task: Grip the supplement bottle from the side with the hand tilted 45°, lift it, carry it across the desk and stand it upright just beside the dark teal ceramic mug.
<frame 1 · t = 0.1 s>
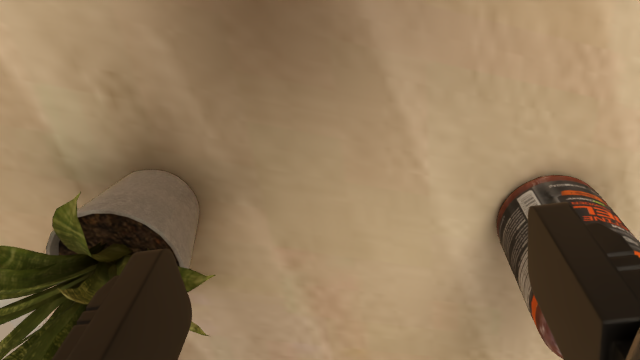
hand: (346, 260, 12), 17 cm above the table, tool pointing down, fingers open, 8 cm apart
house plant: (136, 206, 32), on the table
supplement bottle: (544, 214, 31), on the table
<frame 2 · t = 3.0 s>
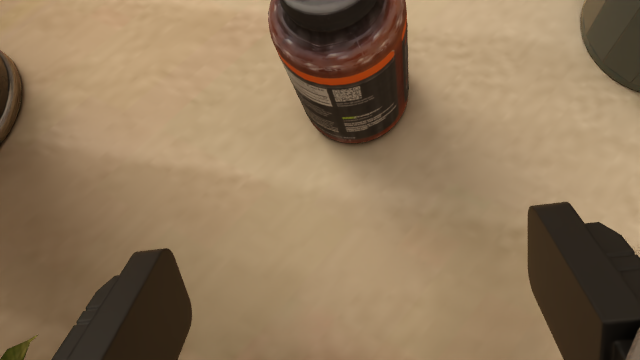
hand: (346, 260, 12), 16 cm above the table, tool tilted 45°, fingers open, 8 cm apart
supplement bottle: (356, 100, 30), on the table
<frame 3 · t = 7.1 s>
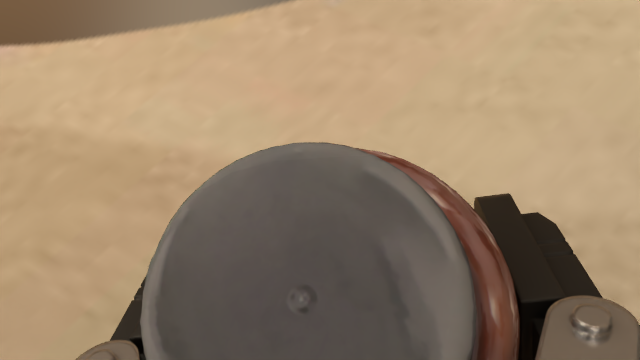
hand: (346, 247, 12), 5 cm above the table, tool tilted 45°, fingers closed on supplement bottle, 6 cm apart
supplement bottle: (372, 330, 17), on the table, touching gripper
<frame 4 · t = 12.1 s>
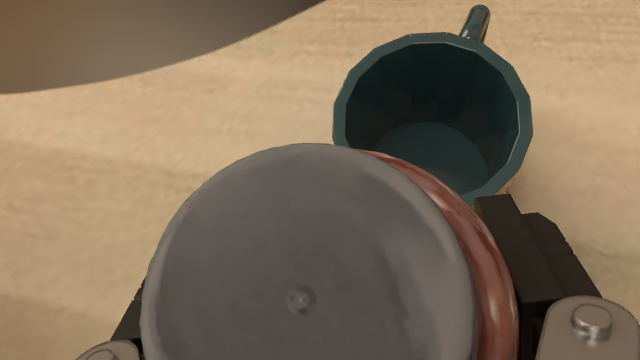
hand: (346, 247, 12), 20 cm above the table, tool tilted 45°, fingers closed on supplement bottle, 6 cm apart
supplement bottle: (372, 330, 17), point 15 cm above the table, touching gripper
mug: (423, 181, 33), on the table
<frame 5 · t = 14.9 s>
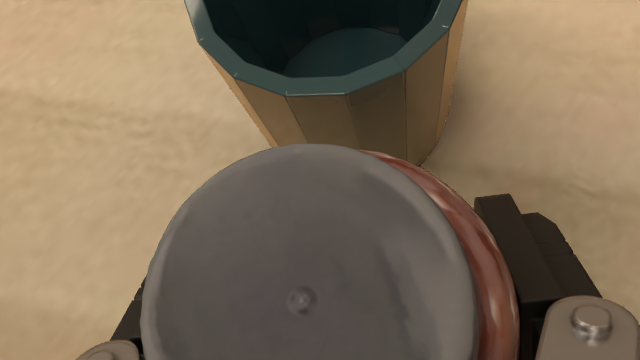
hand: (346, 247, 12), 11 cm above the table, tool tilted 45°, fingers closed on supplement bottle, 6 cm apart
supplement bottle: (372, 330, 17), point 6 cm above the table, touching gripper
mug: (354, 103, 26), on the table
when the fingers open (5 cm above the table, at t = 17.1 s): supplement bottle stays where it is, on the table.
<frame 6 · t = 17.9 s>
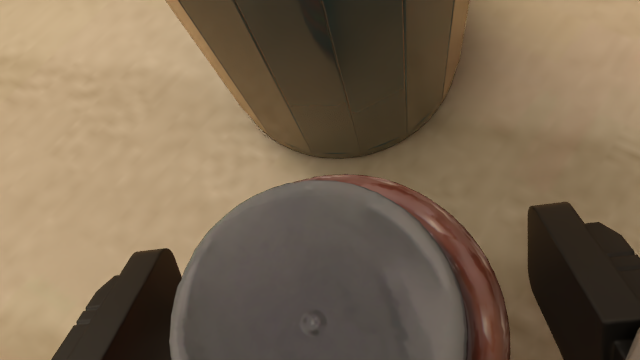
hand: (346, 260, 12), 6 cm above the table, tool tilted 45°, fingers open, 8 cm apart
supplement bottle: (375, 336, 18), on the table
mug: (342, 53, 21), on the table
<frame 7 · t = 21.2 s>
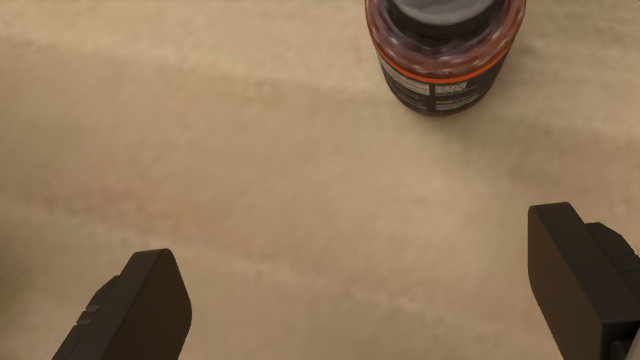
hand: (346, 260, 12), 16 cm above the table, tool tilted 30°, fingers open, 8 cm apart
supplement bottle: (439, 63, 28), on the table
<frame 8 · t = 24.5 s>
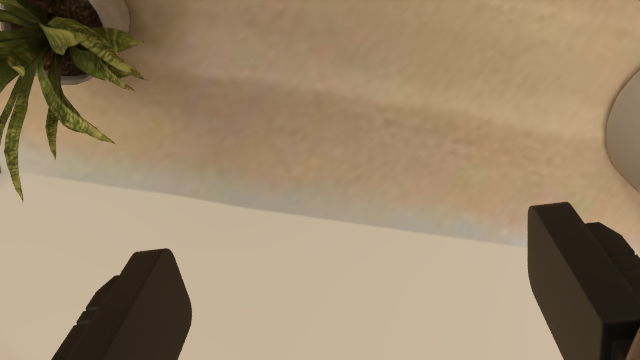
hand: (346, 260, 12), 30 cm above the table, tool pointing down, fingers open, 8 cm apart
house plant: (92, 30, 40), on the table
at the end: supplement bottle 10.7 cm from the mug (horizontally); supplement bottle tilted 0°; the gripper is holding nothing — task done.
